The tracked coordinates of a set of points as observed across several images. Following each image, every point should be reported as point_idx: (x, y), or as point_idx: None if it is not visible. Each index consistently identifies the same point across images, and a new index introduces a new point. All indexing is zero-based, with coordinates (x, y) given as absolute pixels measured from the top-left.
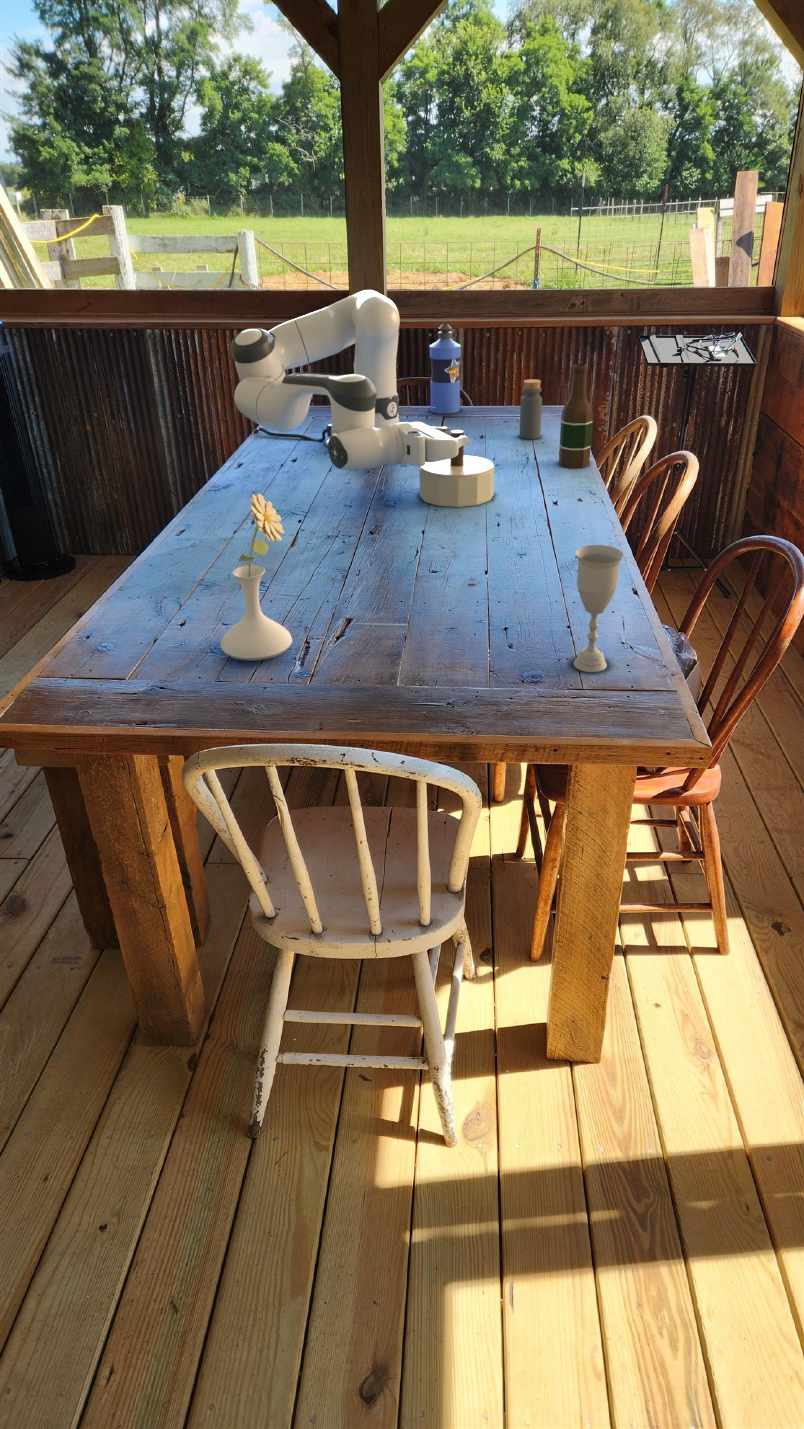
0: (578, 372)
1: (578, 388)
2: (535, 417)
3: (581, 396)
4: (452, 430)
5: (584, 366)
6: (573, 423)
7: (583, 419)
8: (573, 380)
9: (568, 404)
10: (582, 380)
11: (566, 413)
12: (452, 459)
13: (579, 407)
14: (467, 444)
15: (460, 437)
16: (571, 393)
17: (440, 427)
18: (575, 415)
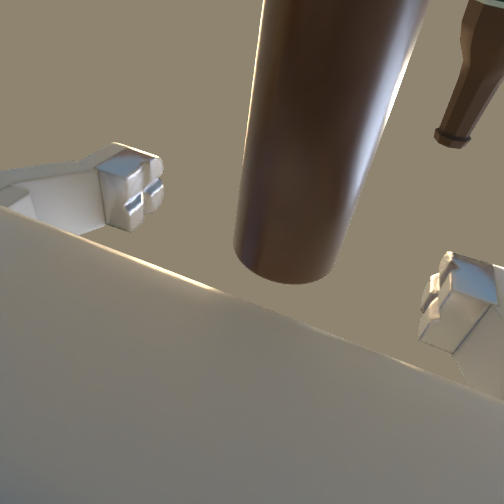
0: (445, 130)
1: (458, 95)
2: None
3: (461, 72)
4: (324, 272)
5: (434, 137)
6: (485, 3)
7: (468, 10)
8: (465, 117)
9: (493, 61)
10: (447, 109)
11: (501, 37)
12: (291, 11)
13: (465, 46)
14: (110, 144)
15: (84, 224)
16: (485, 86)
17: (464, 359)
18: (473, 27)
